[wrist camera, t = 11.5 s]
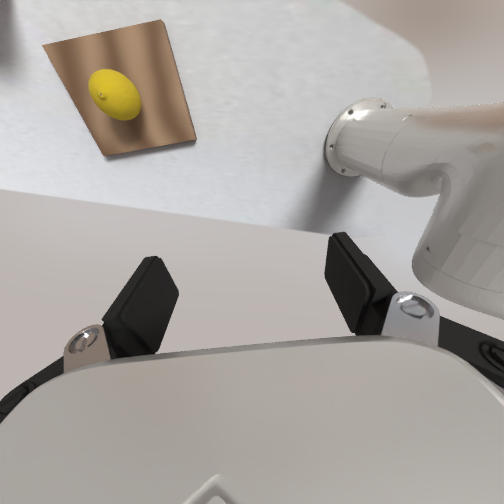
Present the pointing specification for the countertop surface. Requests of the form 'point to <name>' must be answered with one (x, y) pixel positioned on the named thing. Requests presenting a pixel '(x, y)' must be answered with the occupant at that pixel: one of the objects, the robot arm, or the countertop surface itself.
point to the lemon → (114, 94)
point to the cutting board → (139, 73)
